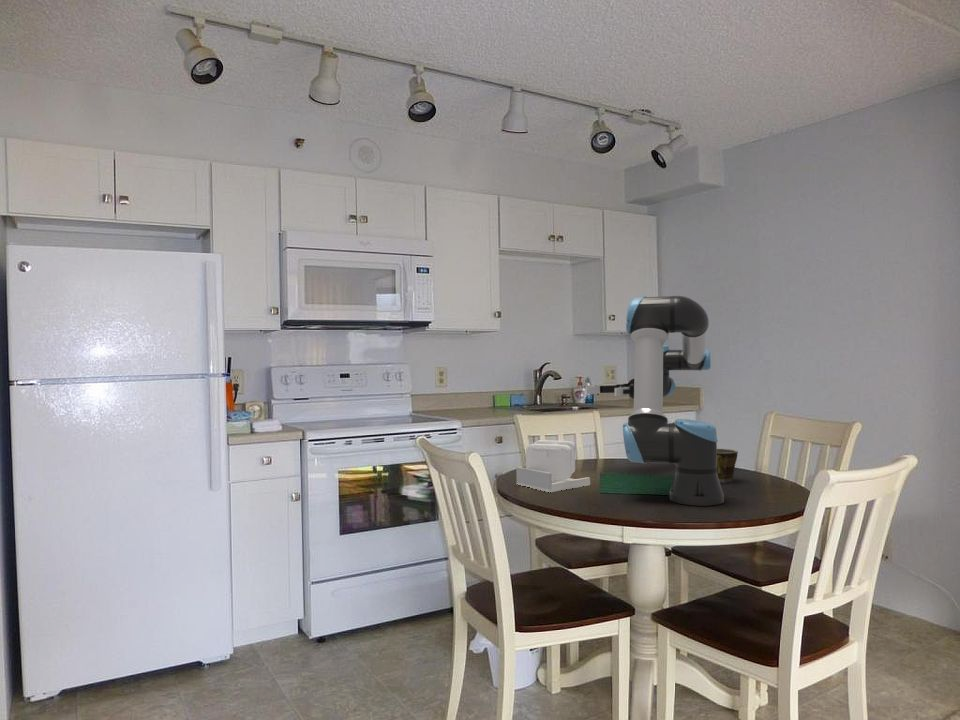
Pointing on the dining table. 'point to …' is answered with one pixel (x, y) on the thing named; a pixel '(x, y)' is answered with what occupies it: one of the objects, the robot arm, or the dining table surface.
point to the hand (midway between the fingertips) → (600, 391)
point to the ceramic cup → (726, 464)
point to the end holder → (547, 480)
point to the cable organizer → (552, 458)
